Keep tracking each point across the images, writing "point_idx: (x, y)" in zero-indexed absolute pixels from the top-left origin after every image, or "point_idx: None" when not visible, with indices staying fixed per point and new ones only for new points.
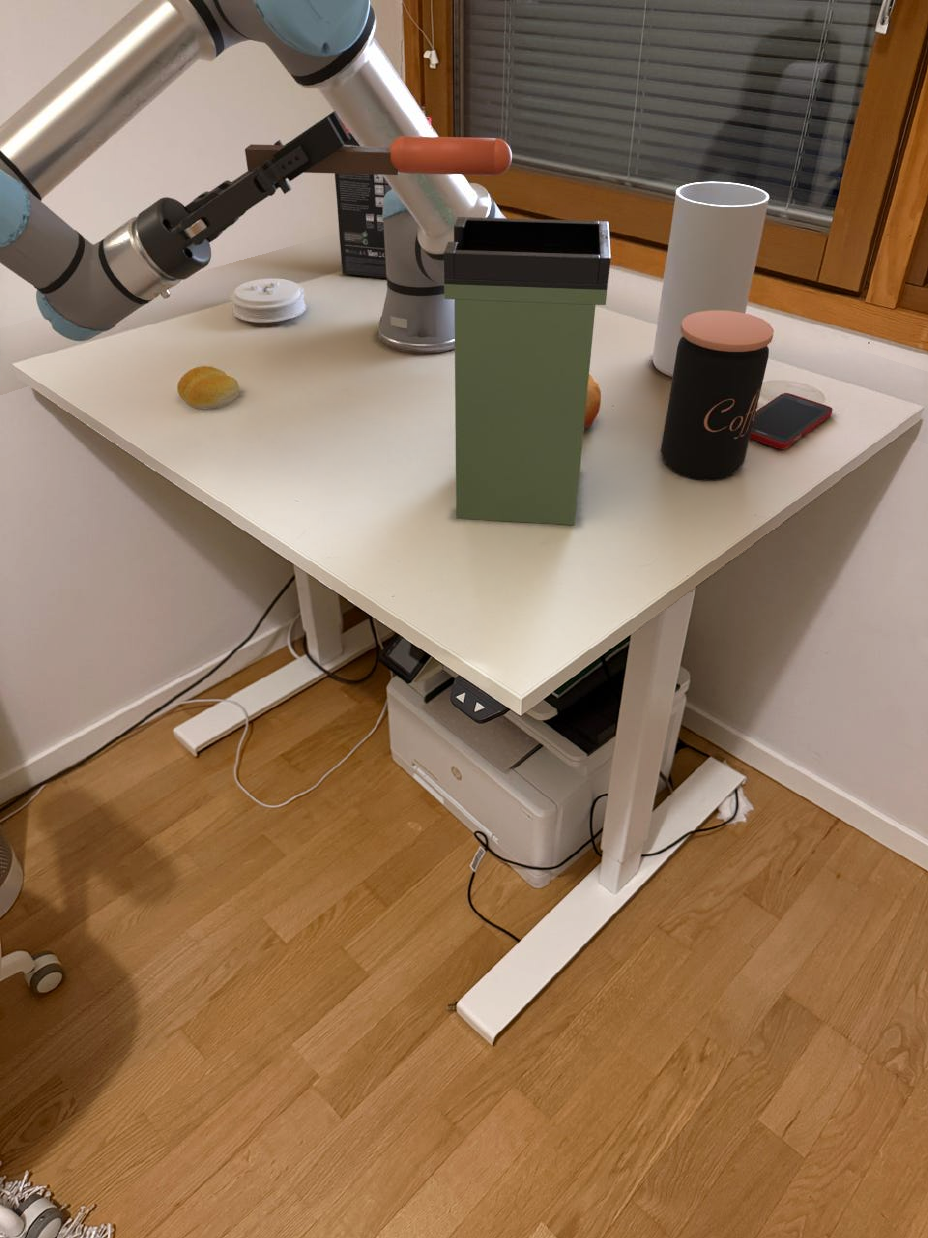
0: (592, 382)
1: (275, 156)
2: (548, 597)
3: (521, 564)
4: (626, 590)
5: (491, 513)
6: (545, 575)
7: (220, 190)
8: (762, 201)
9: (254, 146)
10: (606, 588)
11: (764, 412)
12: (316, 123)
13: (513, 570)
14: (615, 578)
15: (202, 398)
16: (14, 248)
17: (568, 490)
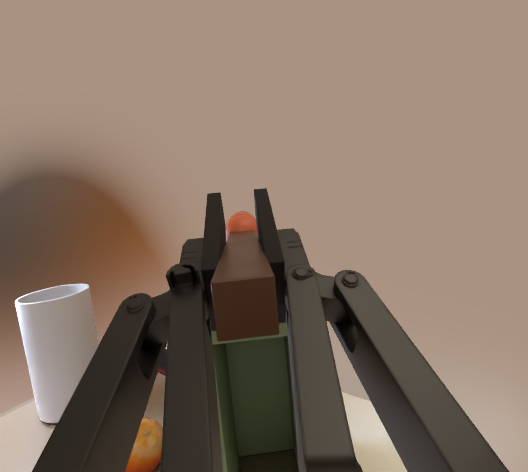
0: (144, 419)
1: (284, 264)
2: (389, 441)
3: (363, 464)
4: (357, 407)
5: None
6: (367, 447)
7: (322, 462)
8: (83, 284)
9: (240, 273)
10: (360, 415)
11: (163, 367)
12: (215, 212)
13: (373, 467)
14: (348, 413)
15: None
16: None
17: None
